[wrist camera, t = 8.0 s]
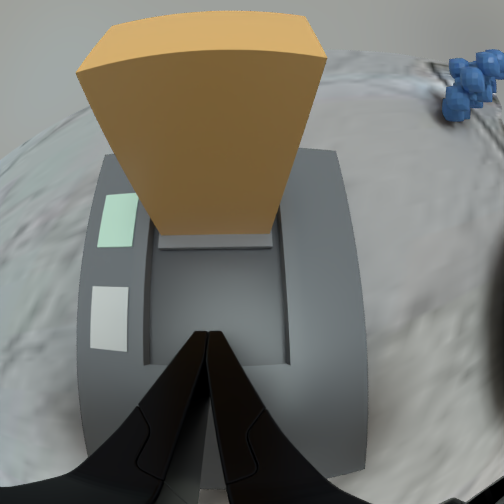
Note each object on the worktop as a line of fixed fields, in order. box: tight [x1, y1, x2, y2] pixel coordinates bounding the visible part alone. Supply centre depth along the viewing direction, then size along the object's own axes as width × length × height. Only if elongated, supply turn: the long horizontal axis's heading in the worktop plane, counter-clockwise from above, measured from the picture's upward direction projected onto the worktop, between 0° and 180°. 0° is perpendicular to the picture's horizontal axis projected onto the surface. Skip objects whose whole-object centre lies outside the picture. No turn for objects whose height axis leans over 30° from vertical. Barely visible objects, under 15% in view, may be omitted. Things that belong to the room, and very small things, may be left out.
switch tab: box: [76, 11, 327, 250], centre depth 9 cm, size 4×5×9 cm
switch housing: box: [77, 148, 368, 489], centre depth 13 cm, size 18×14×4 cm
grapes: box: [442, 49, 504, 122], centre depth 17 cm, size 12×7×12 cm, turn 122°
